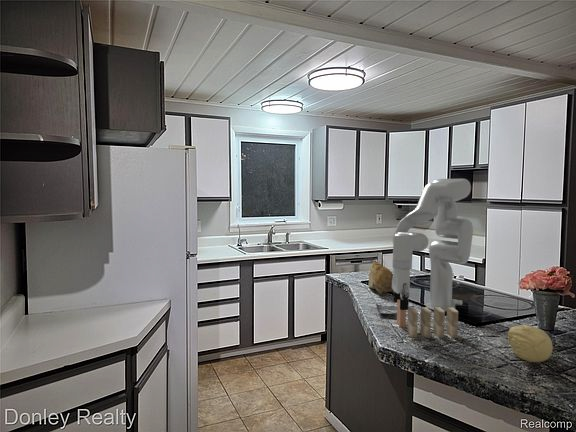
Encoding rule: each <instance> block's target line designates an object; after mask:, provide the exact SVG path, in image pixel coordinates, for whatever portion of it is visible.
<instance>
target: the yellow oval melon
mask: <svg viewBox="0 0 576 432" xmlns="http://www.w3.org/2000/svg"><path fill="white" fill-rule="evenodd" d="M507 335H508V337H507V342H508V343H509V344H510V347H511V349H512V351H513V352H514V354H515V355H516V356H517V357H518V358H519V359H521V360H523V361H527V362H530V363H541V362H545V361H547V360H548V359H549V358H550V357H551V356H552V354H553V350H554V349H553V347H554V345H553V342H552V340H551V339H552V338H551V337H550V336H549V335H548V334H547V332H546V331H544V330H542V329H541V328H538V327H536V326H532V325H527V324H522V325H516V326H515V325H514V326H511V327H510V328H509V330H508V331H507Z"/></svg>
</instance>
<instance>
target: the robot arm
mask: <svg viewBox="0 0 576 432" xmlns="http://www.w3.org/2000/svg"><path fill="white" fill-rule="evenodd" d="M471 190H472V185H471V183H470V181H469V180H468V179H466V178H439V179H434V180H433V181H432V182H429V183H427V184H426V185H425V186H424V188H423V190H422V192H421V195H420V197H419V200H418V202H417V204H416V207H415V209H414V210H413V211H411V212H409V213H408V214H406V215H405V216H404V217H403V218H402V219H401V220H400V221H399V222H398V224H397V226H396V227H395V228H396V229H395V231H394V233H393V237H392V243H393V244H392V269H393V270H392V274H393V278H392V289H393V290H394V292H393V304H395V303H396V304H397V299H400V310H406V311H408V307H409V303H410V302H409V300H410V298H409V297H410V295H409V294H410V291H411V270H412V267H413V252H423V251H424V250H426V248H428V254H429V261H430V284H429V285H430V286H429V287H430V289H429V301H427V302H426V304H425V307H427V308H428V309H429V310H431V311H434V307H440V308H441V309H442V310H443V311H445V313H447V307H453V308H454V309H455V310H456V306H457V305H459V306H460V305H461V306H462V305H463V304H464V303H463V300H461V299H460V300H459V299H456V298H455V299H454V298H453V278H454V277H453V268H452V266H451V264H450V263H453V264H459V265H462V264H463V265H464V264H467V263H468V262H469V260H470V256H471V252H472V251H471V250H472V243H473V233H474V227H473V226H474V225H473V223H472V221H471V220H470V219H468V218H460V217H459V218H458V212H459V211H458V210H459V208H458V207H459V206H458V204H457V203H456V202H458V201H460V200H463V199H465V198H467V197H468V196H469V195H470V193H471ZM436 214H437V216H436ZM435 216H436V217H435ZM434 218H436V223H435V233H436V236H437V237H440V238H444V239H455V240H457V241H450V240H442V239H441V240H440V239H436V240H433V241H432V242H430V244H429V239H428V236H427V235H426V234H424V233H421V232H414V231H410V230H411V229H412V228H414V227H416V226H417V225H420V224H423V223H426V222H429V221H431V220H433V219H434Z"/></svg>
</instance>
